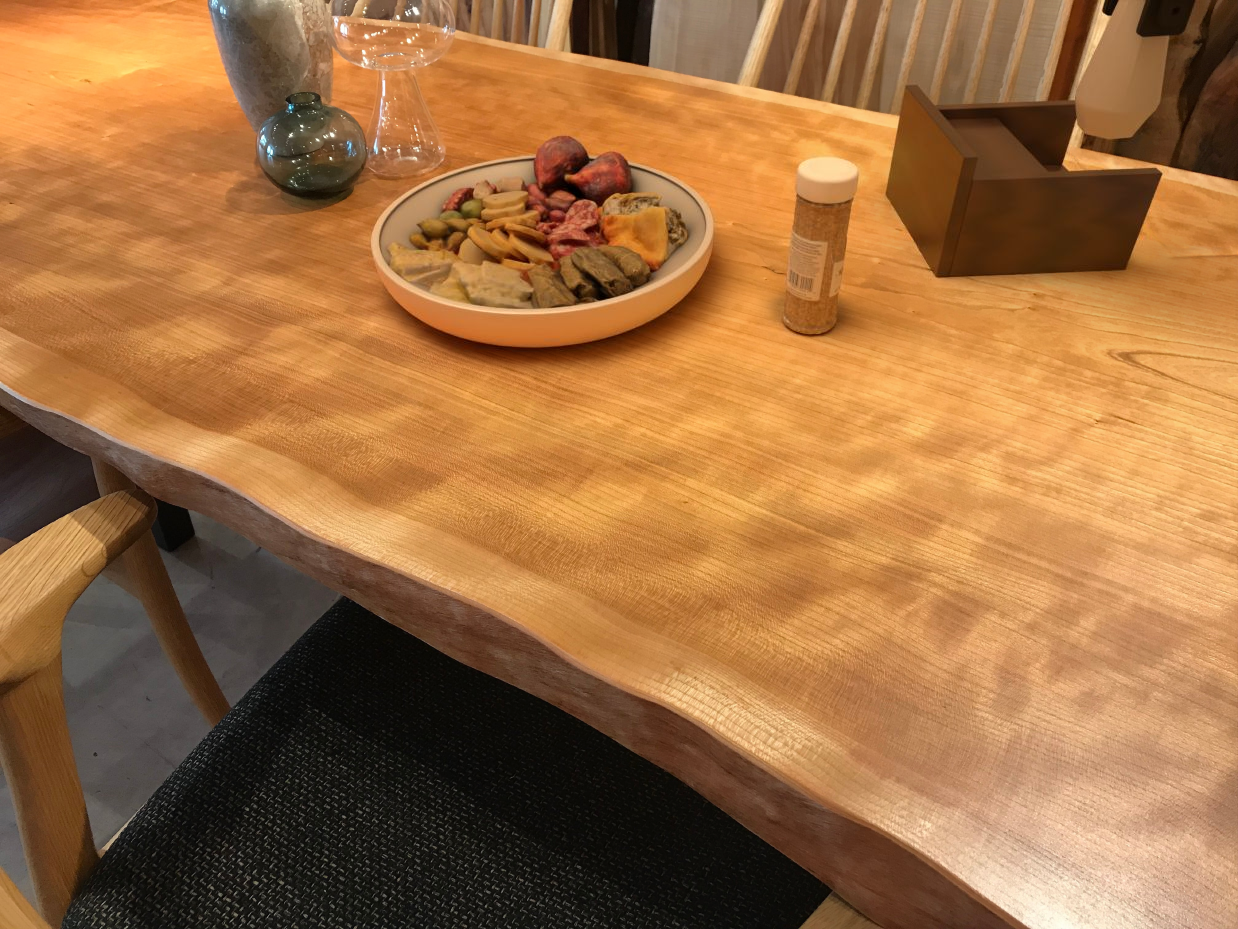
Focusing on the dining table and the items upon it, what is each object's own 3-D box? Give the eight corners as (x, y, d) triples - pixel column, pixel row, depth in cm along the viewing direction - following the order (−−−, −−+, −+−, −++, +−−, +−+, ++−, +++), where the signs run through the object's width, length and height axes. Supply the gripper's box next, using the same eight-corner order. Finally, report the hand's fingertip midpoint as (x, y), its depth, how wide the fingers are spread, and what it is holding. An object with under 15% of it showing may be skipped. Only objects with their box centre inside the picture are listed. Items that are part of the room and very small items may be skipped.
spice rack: (1049, 187, 95) (1082, 78, 87) (1125, 269, 82) (1172, 149, 75) (885, 193, 94) (905, 84, 87) (935, 277, 81) (964, 157, 74)
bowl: (714, 371, 71) (719, 282, 66) (339, 363, 73) (316, 276, 68) (709, 201, 94) (713, 125, 89) (423, 198, 96) (410, 124, 90)
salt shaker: (1152, 122, 71) (1220, -69, 62) (1143, 148, 67) (1214, -50, 58) (1072, 110, 73) (1127, -75, 64) (1059, 135, 69) (1115, -57, 61)
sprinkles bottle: (846, 327, 76) (872, 171, 67) (800, 342, 74) (821, 184, 65) (814, 302, 79) (835, 149, 70) (769, 315, 77) (785, 161, 68)
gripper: (1415, -313, 47) (1262, 59, 59) (1229, -317, 59) (1134, -10, 71) (1273, -306, 47) (1148, 65, 59) (1117, -312, 59) (1040, -5, 71)
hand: (1141, 21), depth 65 cm, fingers closed on salt shaker, 4 cm apart
